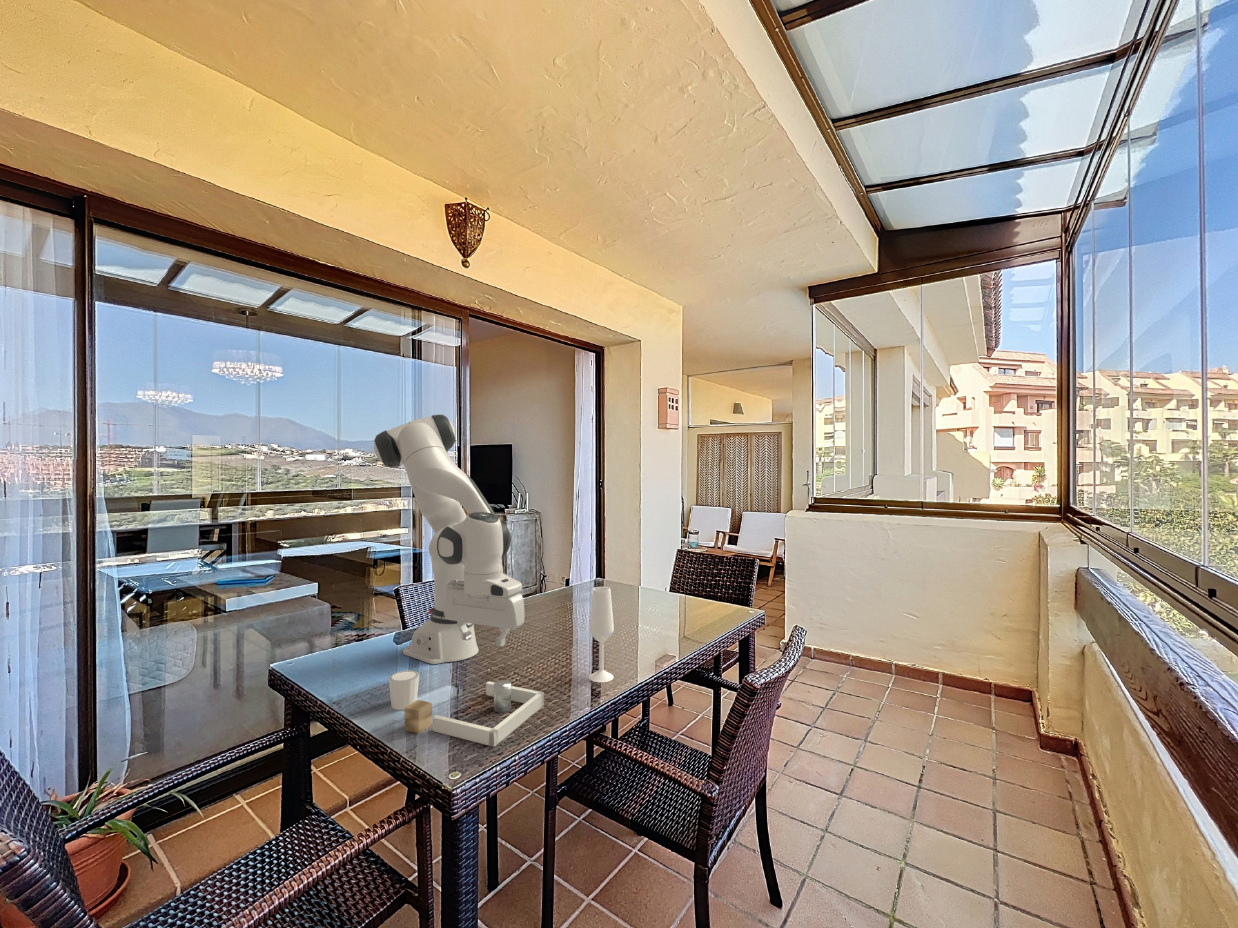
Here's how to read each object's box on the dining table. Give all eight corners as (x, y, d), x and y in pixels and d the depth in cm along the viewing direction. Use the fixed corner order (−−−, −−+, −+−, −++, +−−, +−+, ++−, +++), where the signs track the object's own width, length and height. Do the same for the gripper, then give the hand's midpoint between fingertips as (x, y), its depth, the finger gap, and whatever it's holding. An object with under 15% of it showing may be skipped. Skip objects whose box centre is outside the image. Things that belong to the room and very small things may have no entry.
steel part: (490, 710, 125) (490, 685, 125) (500, 703, 128) (500, 678, 128) (504, 713, 123) (504, 688, 123) (514, 706, 127) (514, 681, 127)
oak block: (404, 730, 116) (404, 707, 116) (418, 721, 120) (418, 699, 120) (418, 733, 114) (418, 710, 114) (432, 725, 118) (432, 703, 118)
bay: (432, 731, 115) (432, 717, 115) (488, 693, 134) (488, 681, 134) (494, 746, 109) (494, 732, 109) (544, 704, 128) (544, 692, 128)
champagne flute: (597, 684, 139) (598, 593, 139) (584, 675, 145) (584, 588, 144) (618, 678, 143) (619, 589, 143) (604, 670, 149) (604, 584, 148)
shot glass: (384, 704, 128) (384, 675, 128) (412, 695, 133) (412, 667, 132) (395, 714, 123) (395, 684, 123) (424, 704, 128) (424, 675, 128)
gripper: (437, 581, 124) (437, 640, 124) (513, 590, 116) (512, 653, 117) (455, 576, 130) (455, 632, 130) (528, 584, 122) (527, 644, 123)
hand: (483, 642), depth 123 cm, fingers open, 8 cm apart
